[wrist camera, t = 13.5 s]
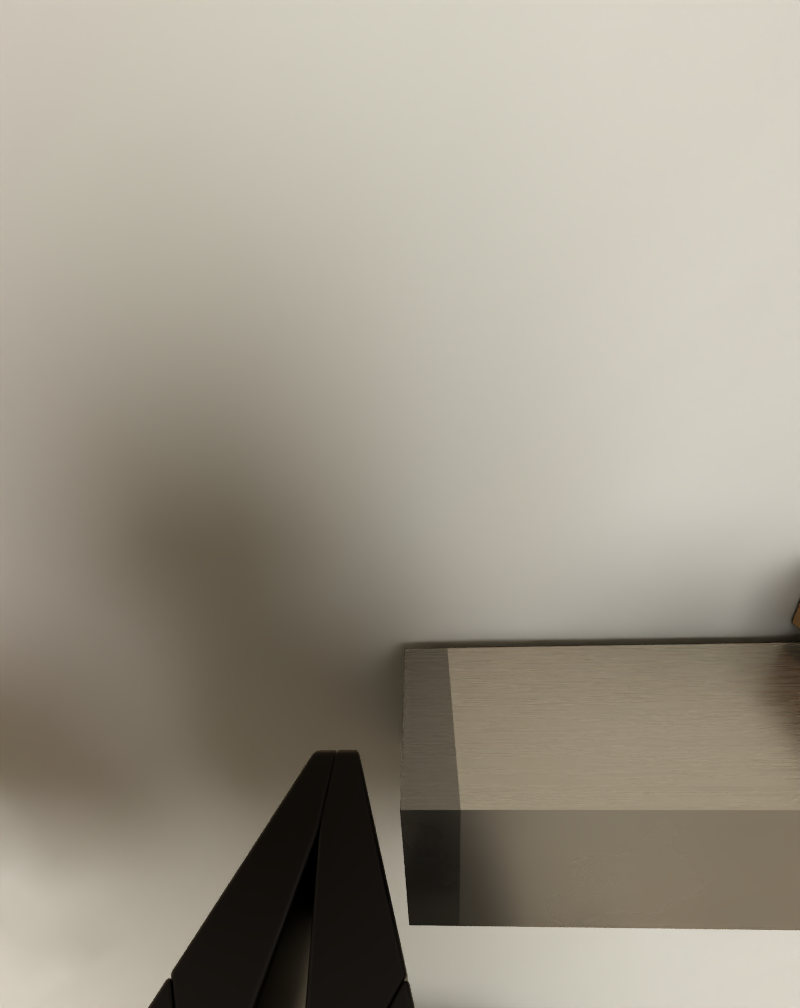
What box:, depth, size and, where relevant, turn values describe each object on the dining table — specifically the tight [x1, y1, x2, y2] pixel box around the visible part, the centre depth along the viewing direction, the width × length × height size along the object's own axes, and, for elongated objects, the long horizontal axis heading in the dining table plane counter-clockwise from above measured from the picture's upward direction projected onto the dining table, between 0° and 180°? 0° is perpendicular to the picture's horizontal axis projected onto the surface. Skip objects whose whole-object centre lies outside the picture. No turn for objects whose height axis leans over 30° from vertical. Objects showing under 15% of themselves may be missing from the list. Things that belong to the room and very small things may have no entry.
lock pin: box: [400, 643, 800, 930], centre depth 8 cm, size 13×3×3 cm, turn 93°
